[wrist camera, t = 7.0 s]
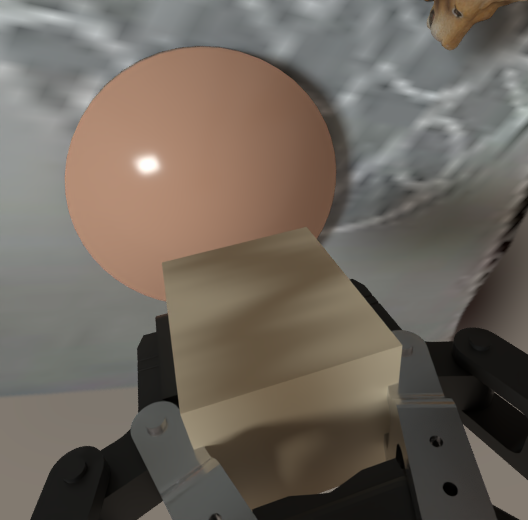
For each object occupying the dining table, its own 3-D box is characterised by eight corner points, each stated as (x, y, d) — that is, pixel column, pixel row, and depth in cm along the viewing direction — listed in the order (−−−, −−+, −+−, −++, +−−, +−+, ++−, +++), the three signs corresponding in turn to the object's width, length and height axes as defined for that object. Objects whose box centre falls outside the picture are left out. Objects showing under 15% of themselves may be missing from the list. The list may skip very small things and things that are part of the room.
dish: (320, 22, 21) (332, 24, 20) (329, 259, 29) (338, 271, 28) (17, 73, 19) (8, 78, 17) (120, 314, 27) (120, 330, 26)
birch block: (306, 226, 14) (402, 344, 9) (313, 332, 17) (390, 467, 12) (161, 262, 13) (180, 414, 8) (194, 367, 16) (223, 528, 11)
